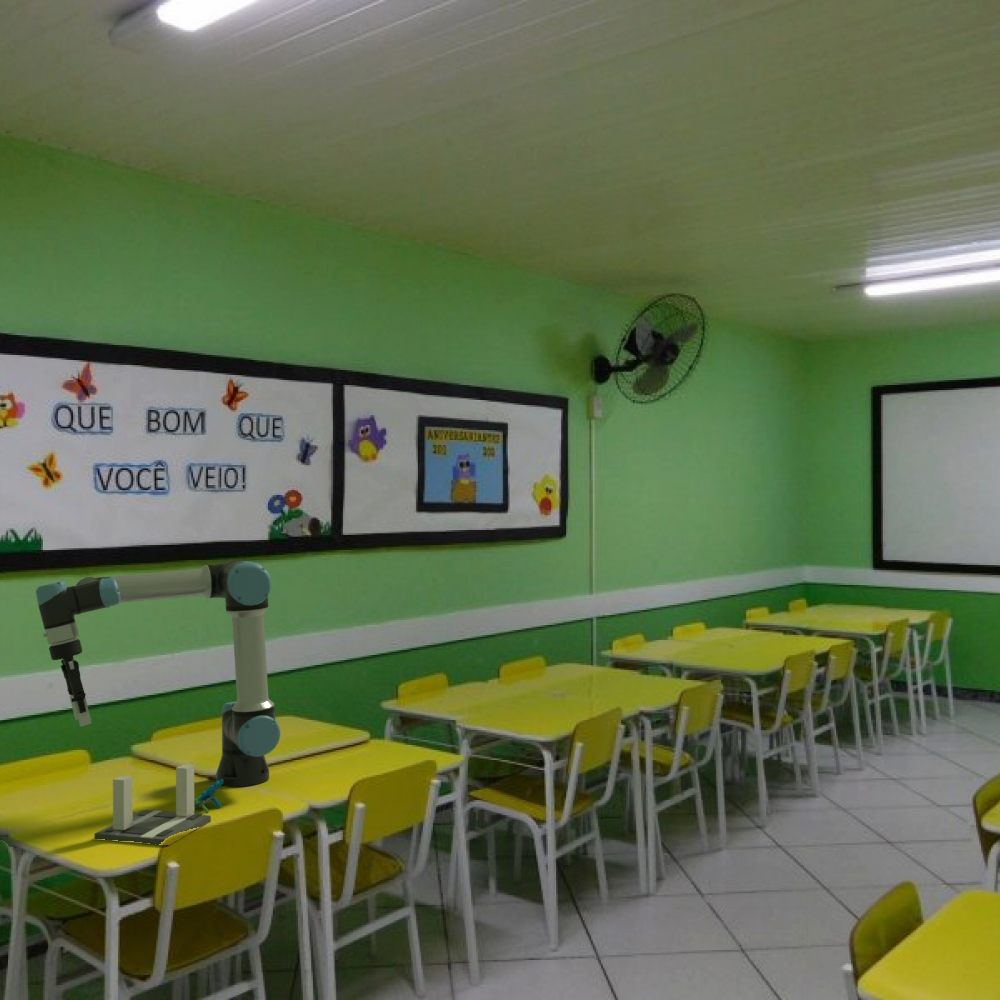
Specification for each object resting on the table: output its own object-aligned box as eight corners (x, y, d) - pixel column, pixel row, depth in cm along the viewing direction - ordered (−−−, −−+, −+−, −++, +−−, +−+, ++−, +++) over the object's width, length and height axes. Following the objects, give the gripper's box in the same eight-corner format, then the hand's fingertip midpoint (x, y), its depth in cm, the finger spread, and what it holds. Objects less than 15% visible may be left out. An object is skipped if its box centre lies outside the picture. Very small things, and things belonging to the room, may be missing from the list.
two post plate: (94, 839, 240) (94, 780, 240) (141, 816, 258) (141, 761, 258) (168, 846, 235) (167, 786, 235) (210, 821, 253) (210, 765, 253)
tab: (113, 829, 241) (112, 779, 241) (121, 824, 244) (121, 775, 245) (123, 830, 240) (123, 780, 240) (132, 825, 244) (132, 776, 244)
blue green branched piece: (207, 794, 272) (226, 771, 269) (221, 810, 271) (241, 787, 268) (181, 811, 262) (201, 788, 258) (196, 828, 261) (216, 805, 257)
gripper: (45, 643, 266) (64, 720, 266) (51, 648, 244) (72, 732, 244) (75, 635, 269) (93, 711, 270) (84, 640, 247) (104, 722, 248)
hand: (83, 721), depth 257 cm, fingers open, 13 cm apart
